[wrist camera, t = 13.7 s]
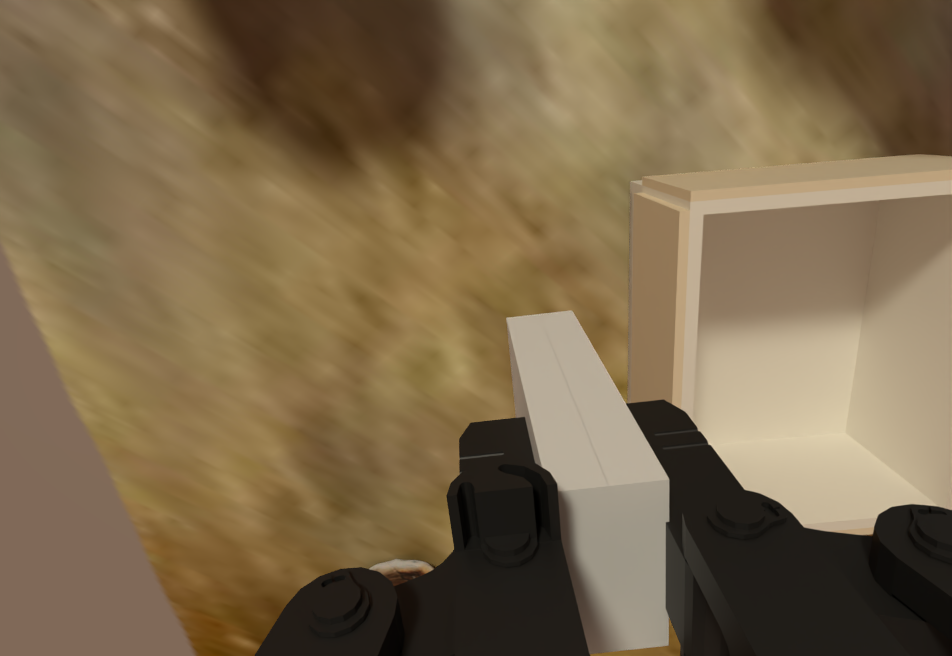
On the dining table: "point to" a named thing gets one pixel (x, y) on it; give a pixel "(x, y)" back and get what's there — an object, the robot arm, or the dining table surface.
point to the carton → (803, 327)
